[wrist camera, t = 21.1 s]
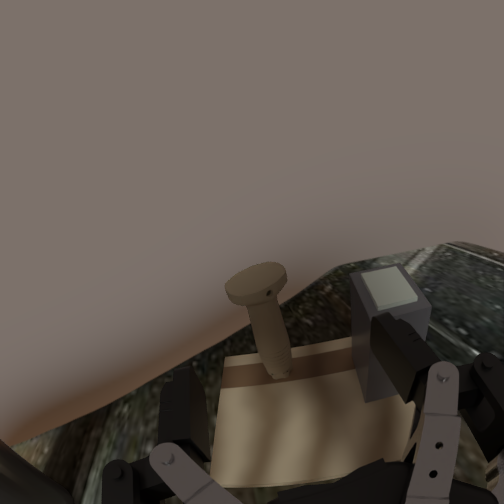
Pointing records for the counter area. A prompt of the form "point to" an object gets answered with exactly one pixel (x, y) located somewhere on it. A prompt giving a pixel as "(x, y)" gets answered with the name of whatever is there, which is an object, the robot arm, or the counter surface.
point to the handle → (264, 313)
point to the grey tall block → (374, 303)
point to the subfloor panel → (302, 420)
